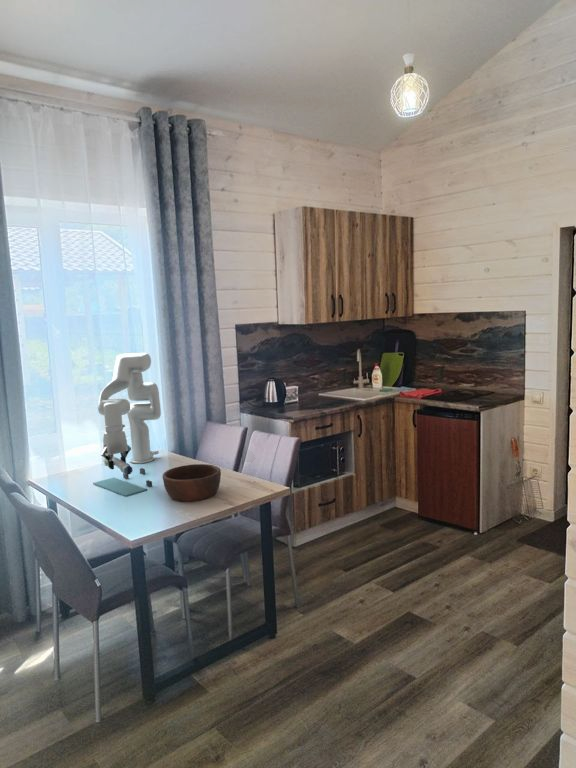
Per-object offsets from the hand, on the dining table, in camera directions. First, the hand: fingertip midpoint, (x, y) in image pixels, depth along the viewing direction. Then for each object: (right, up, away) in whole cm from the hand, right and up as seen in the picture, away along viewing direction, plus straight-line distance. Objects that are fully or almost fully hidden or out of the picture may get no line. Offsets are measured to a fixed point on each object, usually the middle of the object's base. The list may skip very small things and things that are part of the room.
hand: (117, 467), depth 269 cm
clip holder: (+10, -8, +11) cm, 17 cm away
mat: (0, -10, +1) cm, 10 cm away
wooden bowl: (+37, -10, -14) cm, 41 cm away
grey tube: (0, -1, 0) cm, 1 cm away
